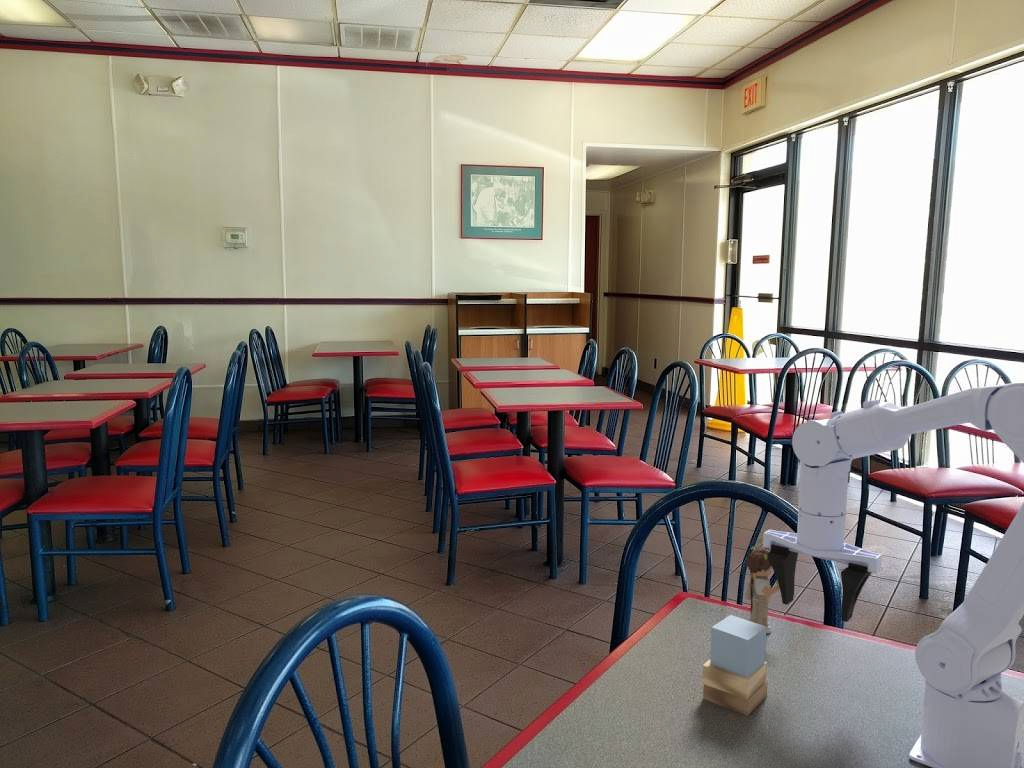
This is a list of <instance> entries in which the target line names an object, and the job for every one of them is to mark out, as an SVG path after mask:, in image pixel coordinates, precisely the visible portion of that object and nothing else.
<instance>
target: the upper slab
mask: <svg viewBox="0 0 1024 768" xmlns="http://www.w3.org/2000/svg"><path fill="white" fill-rule="evenodd" d="M767 663H768V662H767V661H765V664H763V665H762V666H761V667H760V668H759V669H757V670H756V671H755V672H754V673H752V674H751V675H750V676H749V677H747V678H745V677H742V676H740V675H737V674H734V673H732V672H729V671H727V670H724V669H722V668H719V667H716V666H714V665H711V664H710V659H708V660H707V661H705V663H703V664H702V674H701V675H702V676H701V677H702V681H701V684H703V685H704V684H705V685H708V686H711V687H713V688H716V689H719V690H721V691H724V692H727V693H730V694H732V695H735V696H738V697H741V698H743V699H746V700H748V699H749V698H750V697H751V696H752V695H753V693H754V692H755V691H756V690H757V689H758V688H759V687H760V686H761V685H762V684H763V683H764V682H765V681H766V680H767V667H768V666H767V665H768V664H767Z"/></svg>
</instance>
